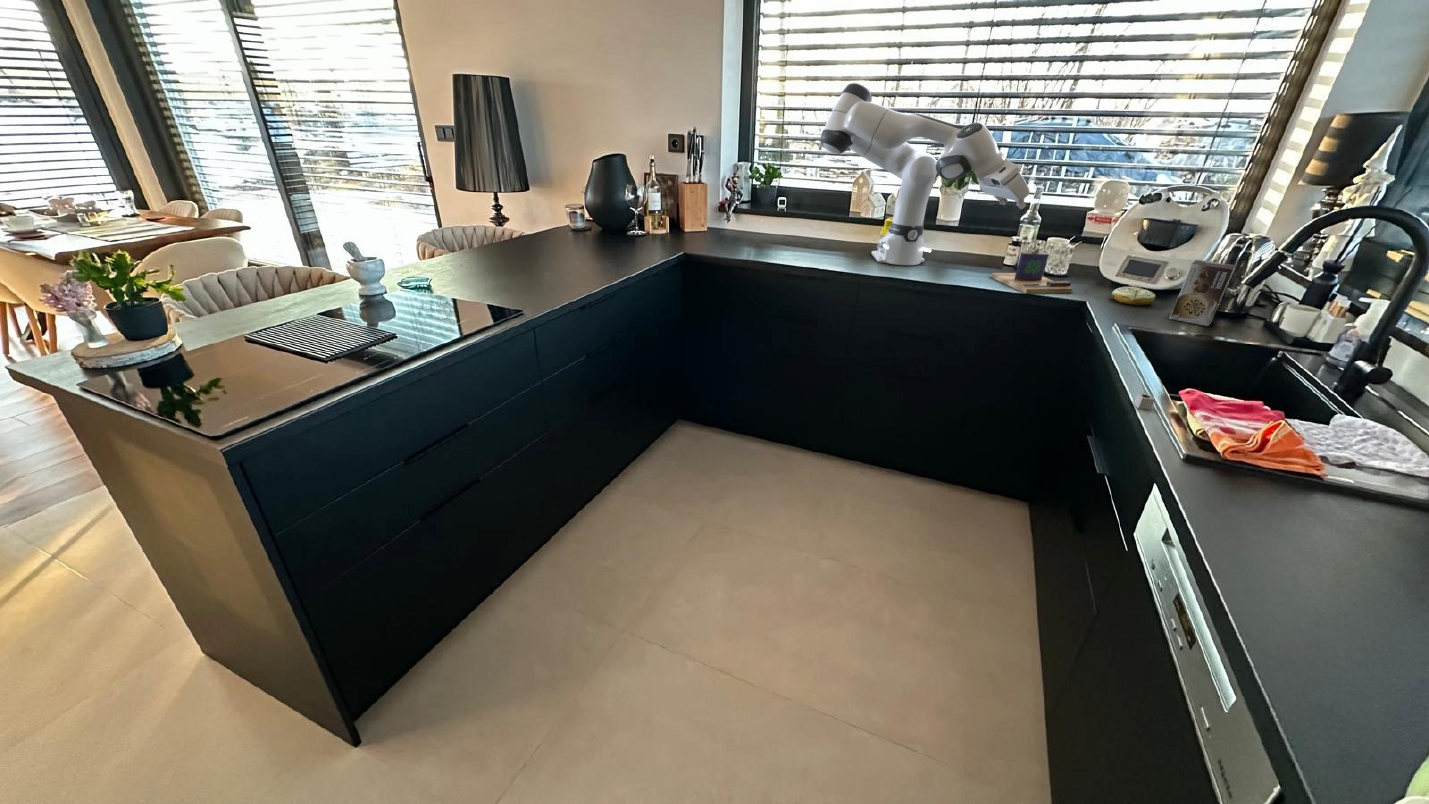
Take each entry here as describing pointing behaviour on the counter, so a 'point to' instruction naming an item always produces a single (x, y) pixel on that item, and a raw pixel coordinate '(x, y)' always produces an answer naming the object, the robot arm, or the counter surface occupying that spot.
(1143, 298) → the decorated donut
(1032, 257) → the flask
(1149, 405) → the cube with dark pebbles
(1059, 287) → the cutting board
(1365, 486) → the counter surface
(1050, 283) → the knife
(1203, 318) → the coffee box
